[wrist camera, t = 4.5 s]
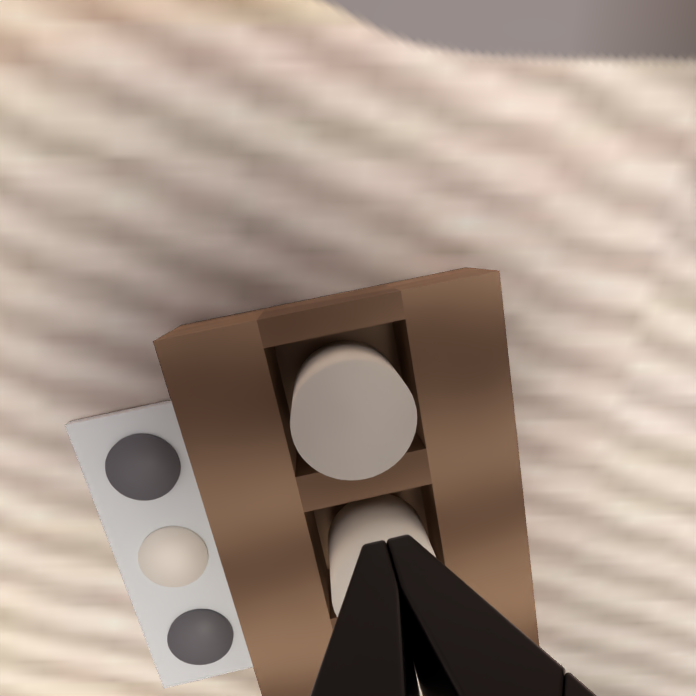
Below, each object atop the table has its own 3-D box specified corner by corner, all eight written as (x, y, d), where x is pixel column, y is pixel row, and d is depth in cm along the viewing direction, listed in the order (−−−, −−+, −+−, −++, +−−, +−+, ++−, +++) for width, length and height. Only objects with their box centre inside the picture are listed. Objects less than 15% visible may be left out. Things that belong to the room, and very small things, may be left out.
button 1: (405, 428, 17) (425, 465, 14) (305, 450, 17) (305, 492, 14) (388, 330, 16) (406, 348, 13) (282, 352, 16) (276, 375, 13)
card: (266, 656, 21) (265, 668, 21) (166, 680, 21) (162, 692, 20) (189, 396, 18) (185, 401, 17) (70, 421, 18) (61, 427, 17)
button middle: (429, 566, 18) (452, 625, 15) (338, 587, 18) (343, 651, 15) (415, 484, 17) (436, 531, 14) (319, 505, 17) (320, 557, 14)
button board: (513, 645, 22) (546, 708, 19) (289, 699, 22) (286, 774, 19) (465, 267, 18) (499, 270, 15) (181, 325, 17) (152, 341, 14)
